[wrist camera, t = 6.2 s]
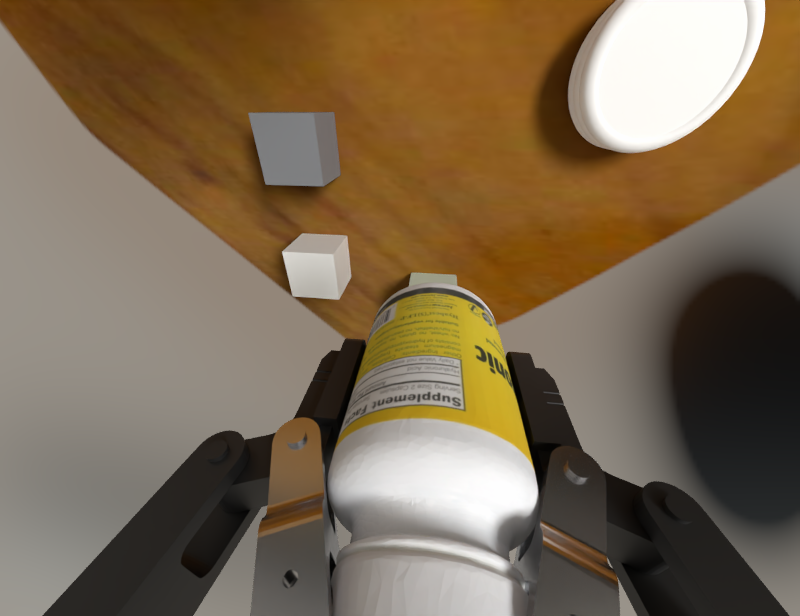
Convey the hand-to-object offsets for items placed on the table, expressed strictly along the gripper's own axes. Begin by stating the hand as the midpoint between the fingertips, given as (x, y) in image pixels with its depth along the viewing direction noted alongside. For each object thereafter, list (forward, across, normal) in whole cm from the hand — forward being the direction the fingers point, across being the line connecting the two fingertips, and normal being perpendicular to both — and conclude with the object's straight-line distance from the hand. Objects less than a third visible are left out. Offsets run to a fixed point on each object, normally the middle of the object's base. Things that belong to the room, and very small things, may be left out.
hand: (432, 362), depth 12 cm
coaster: (+22, -14, -10) cm, 28 cm away
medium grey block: (+21, +12, -5) cm, 25 cm away
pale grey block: (+21, +12, +6) cm, 25 cm away
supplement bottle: (+2, 0, 0) cm, 2 cm away
